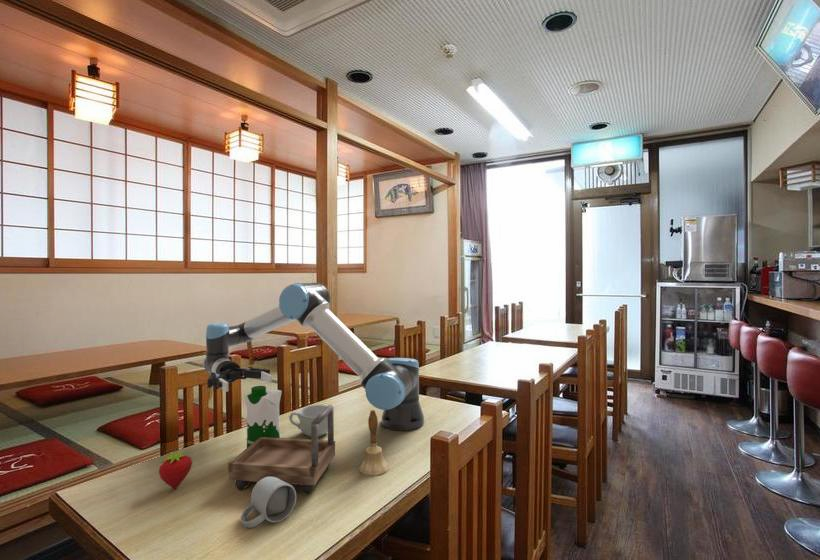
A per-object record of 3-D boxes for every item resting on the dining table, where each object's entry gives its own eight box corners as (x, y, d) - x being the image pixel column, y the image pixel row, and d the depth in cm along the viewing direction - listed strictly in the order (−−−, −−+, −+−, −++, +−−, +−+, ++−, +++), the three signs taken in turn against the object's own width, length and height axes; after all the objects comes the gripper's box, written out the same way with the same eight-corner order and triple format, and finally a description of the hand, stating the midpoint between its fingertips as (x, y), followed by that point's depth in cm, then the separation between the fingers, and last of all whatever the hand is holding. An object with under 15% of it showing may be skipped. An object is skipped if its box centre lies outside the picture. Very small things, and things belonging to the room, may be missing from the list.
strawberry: (197, 484, 103) (197, 445, 102) (166, 498, 96) (166, 457, 96) (184, 478, 106) (184, 440, 106) (154, 491, 99) (153, 451, 99)
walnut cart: (336, 465, 112) (335, 402, 112) (315, 497, 96) (314, 423, 96) (260, 461, 115) (259, 399, 115) (228, 491, 99) (227, 419, 99)
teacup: (336, 428, 140) (336, 405, 140) (326, 441, 129) (326, 416, 129) (297, 426, 141) (297, 403, 141) (284, 439, 130) (284, 414, 130)
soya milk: (241, 456, 119) (240, 388, 118) (262, 443, 127) (261, 380, 127) (266, 460, 116) (265, 391, 115) (285, 447, 124) (285, 383, 124)
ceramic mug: (278, 499, 96) (277, 467, 96) (297, 513, 90) (296, 479, 90) (234, 520, 88) (232, 486, 88) (251, 537, 83) (250, 500, 82)
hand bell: (364, 478, 105) (364, 418, 105) (355, 465, 113) (354, 408, 113) (393, 471, 109) (393, 413, 109) (382, 459, 116) (382, 404, 116)
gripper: (260, 375, 152) (286, 387, 137) (187, 387, 136) (207, 403, 120) (260, 355, 152) (286, 365, 137) (187, 365, 135) (207, 378, 120)
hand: (249, 383), depth 128 cm, fingers open, 13 cm apart
